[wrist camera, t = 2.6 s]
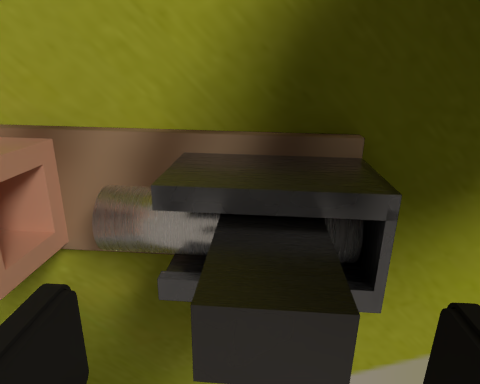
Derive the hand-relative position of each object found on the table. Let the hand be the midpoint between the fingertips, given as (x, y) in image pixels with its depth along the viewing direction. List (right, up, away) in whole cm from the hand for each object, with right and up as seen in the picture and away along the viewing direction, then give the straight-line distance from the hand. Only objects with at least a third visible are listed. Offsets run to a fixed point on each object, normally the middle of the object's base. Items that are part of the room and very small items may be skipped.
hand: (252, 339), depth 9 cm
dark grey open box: (+1, +4, +10) cm, 11 cm away
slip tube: (-1, +3, +8) cm, 9 cm away
